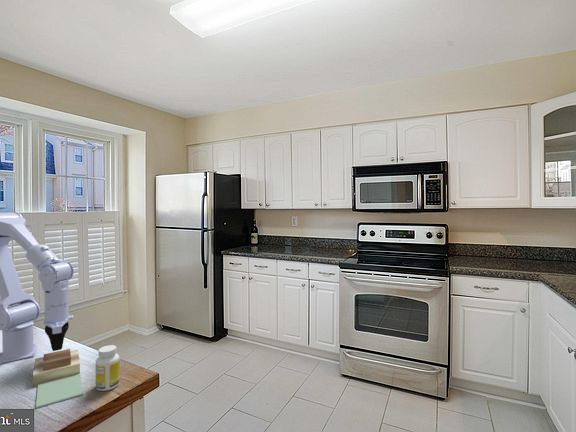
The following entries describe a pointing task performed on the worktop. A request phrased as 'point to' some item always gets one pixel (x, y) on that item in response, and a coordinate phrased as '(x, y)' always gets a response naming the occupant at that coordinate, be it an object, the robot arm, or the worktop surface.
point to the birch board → (55, 370)
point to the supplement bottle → (107, 368)
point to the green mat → (58, 390)
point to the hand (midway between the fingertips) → (57, 349)
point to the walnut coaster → (56, 359)
